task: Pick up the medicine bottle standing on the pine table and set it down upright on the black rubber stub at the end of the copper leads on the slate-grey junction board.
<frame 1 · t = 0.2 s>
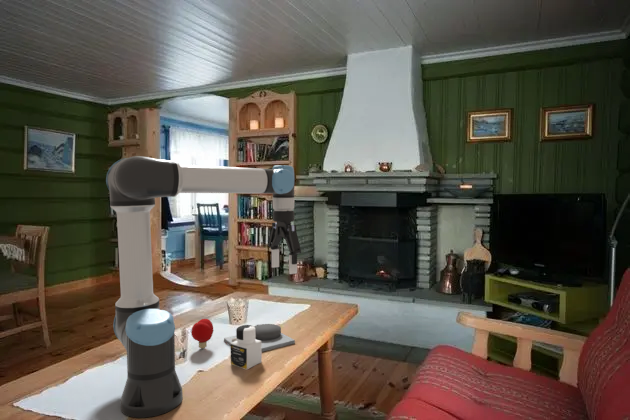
hand: (283, 270, 147), 27 cm above the table, fingers open, 13 cm apart
red toy tree: (202, 349, 146), on the table
medicine bottle: (246, 364, 134), on the table
stub: (266, 338, 156), resting on junction board
junction board: (259, 342, 153), on the table
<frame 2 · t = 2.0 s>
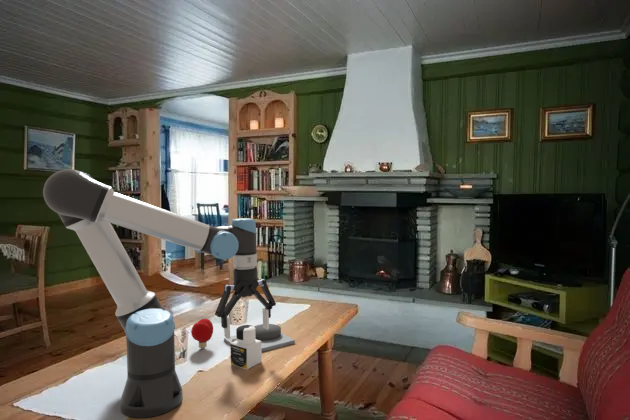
hand: (247, 332, 134), 10 cm above the table, fingers open, 13 cm apart
nothing on the table moved.
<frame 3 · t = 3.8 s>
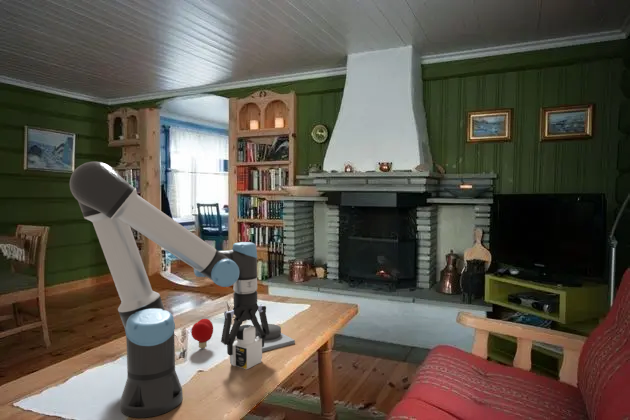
hand: (246, 360, 134), 1 cm above the table, fingers closed on medicine bottle, 9 cm apart
medicine bottle: (246, 364, 134), on the table, touching gripper
everything else where it was.
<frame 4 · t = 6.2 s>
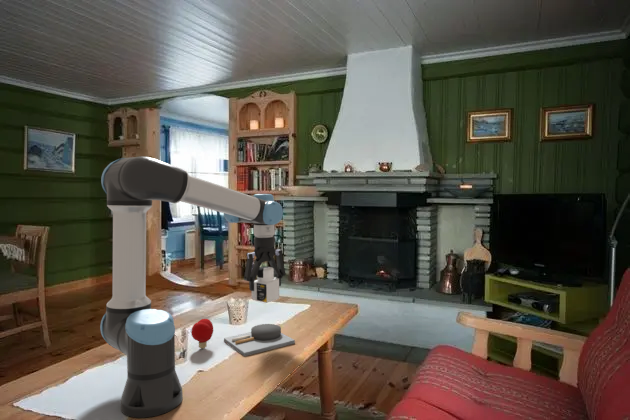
hand: (265, 297, 154), 16 cm above the table, fingers closed on medicine bottle, 9 cm apart
medicine bottle: (265, 300, 154), point 15 cm above the table, touching gripper
everything else where it was.
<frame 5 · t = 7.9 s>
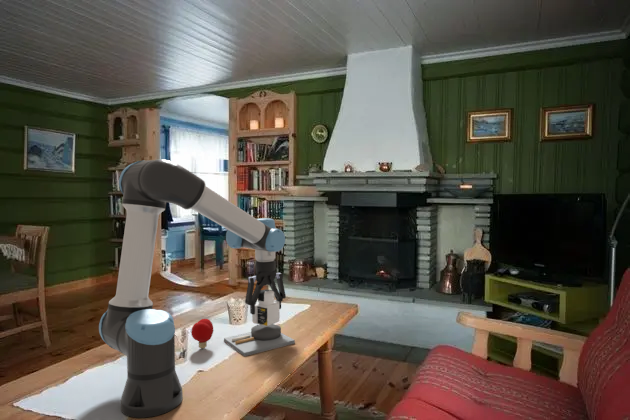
hand: (266, 320, 156), 7 cm above the table, fingers closed on medicine bottle, 9 cm apart
medicine bottle: (266, 322, 156), point 6 cm above the table, touching gripper
everything else where it was.
when the fingers open (6 cm above the table, at t = 9.0 s): medicine bottle drops 1 cm, resting on stub.
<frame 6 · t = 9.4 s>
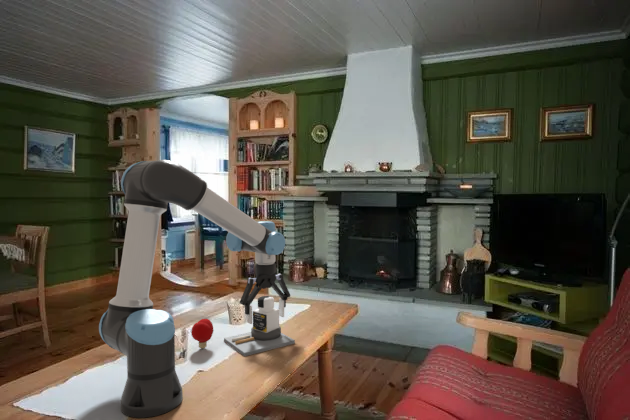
hand: (266, 319, 156), 7 cm above the table, fingers open, 13 cm apart
medicine bottle: (266, 329, 156), point 4 cm above the table, touching stub
everything else where it was.
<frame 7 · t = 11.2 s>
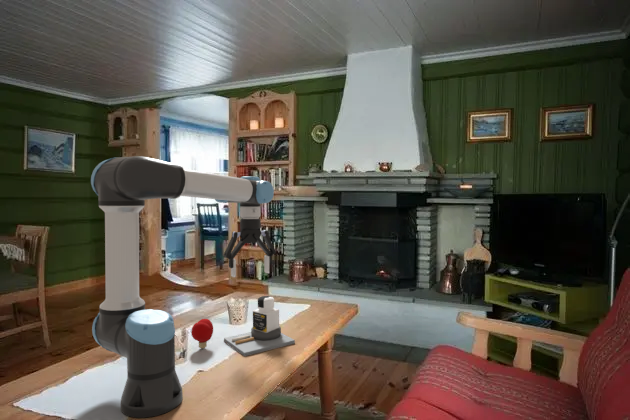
hand: (250, 274, 156), 24 cm above the table, fingers open, 13 cm apart
nothing on the table moved.
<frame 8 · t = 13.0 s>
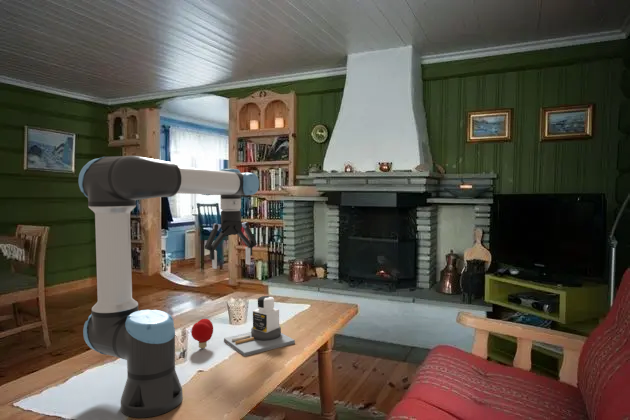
hand: (231, 266, 158), 27 cm above the table, fingers open, 13 cm apart
nothing on the table moved.
at the end: medicine bottle 0.1 cm from the stub (horizontally); medicine bottle point 3.5 cm above the table; medicine bottle tilted 0° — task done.
